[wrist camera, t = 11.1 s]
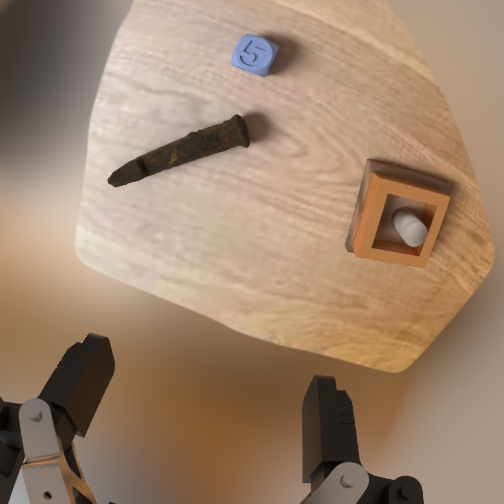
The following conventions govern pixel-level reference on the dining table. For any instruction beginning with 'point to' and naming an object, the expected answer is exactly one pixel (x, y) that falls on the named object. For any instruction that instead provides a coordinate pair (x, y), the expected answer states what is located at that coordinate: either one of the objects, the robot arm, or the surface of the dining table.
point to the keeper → (396, 207)
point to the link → (372, 213)
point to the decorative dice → (254, 54)
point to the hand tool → (184, 151)
